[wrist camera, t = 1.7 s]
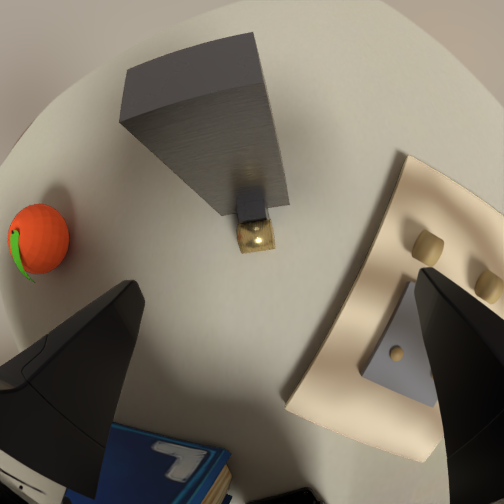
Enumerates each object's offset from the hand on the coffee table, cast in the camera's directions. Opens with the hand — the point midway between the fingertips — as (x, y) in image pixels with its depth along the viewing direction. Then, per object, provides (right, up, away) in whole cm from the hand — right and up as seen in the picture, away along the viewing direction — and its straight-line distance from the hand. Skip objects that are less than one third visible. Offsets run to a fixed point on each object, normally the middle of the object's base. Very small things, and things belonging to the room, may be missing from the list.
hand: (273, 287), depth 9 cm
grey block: (0, +4, +14) cm, 15 cm away
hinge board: (+13, -4, +11) cm, 18 cm away
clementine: (-21, +1, +18) cm, 28 cm away
